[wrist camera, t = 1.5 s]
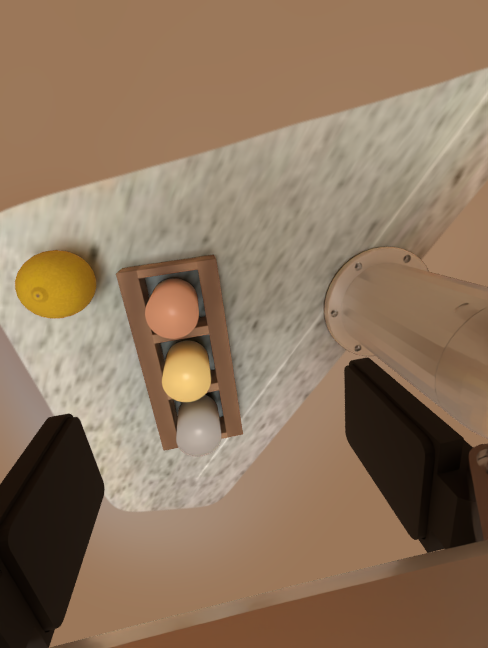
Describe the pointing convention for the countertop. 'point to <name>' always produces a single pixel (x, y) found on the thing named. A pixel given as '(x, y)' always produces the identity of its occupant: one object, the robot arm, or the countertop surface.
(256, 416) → the countertop surface
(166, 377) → the yellow short cylinder
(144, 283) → the wooden compartment tray
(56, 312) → the lemon
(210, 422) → the grey short rounded cylinder
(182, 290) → the pink cylinder
